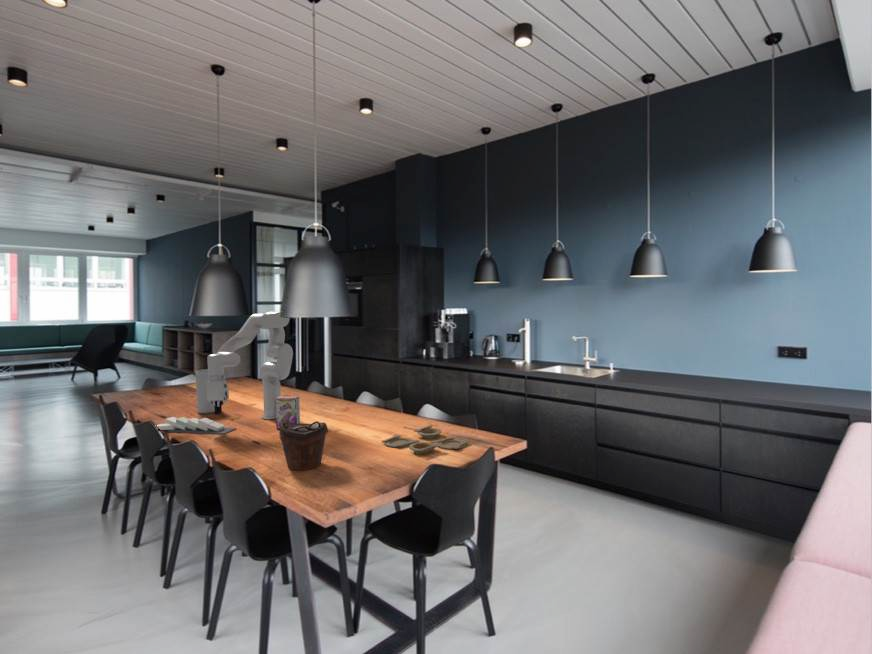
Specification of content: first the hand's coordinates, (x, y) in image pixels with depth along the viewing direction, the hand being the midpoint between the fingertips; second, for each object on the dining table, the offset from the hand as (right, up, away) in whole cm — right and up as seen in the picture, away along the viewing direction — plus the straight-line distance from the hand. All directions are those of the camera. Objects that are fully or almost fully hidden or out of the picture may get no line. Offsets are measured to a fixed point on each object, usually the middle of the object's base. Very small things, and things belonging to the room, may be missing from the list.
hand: (218, 413), depth 253 cm
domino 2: (-18, -8, +5) cm, 20 cm away
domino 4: (-5, -8, +2) cm, 9 cm away
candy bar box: (+35, -8, +3) cm, 36 cm away
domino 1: (-24, -8, +6) cm, 26 cm away
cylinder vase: (-27, -7, +48) cm, 55 cm away
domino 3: (-11, -8, +3) cm, 14 cm away
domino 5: (+1, -8, 0) cm, 8 cm away
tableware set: (+107, -9, -30) cm, 111 cm away
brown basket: (+59, -11, -55) cm, 81 cm away
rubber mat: (-10, -9, +3) cm, 14 cm away
